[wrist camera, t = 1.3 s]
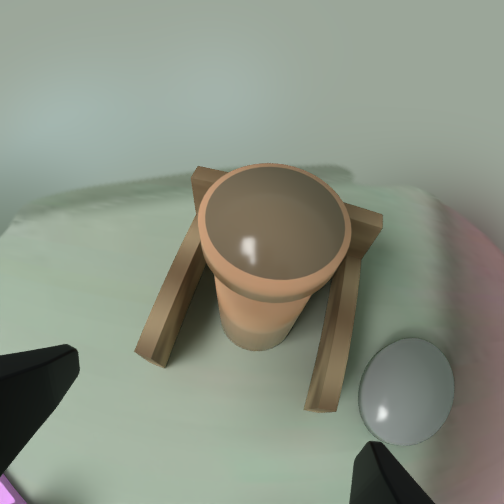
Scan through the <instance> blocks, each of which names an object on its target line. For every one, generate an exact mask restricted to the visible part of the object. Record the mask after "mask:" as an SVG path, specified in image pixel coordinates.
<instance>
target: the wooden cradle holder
mask: <svg viewBox="0 0 504 504" xmlns="http://www.w3.org/2000/svg"><path fill="white" fill-rule="evenodd" d="M227 173H229V172H224V171H219V170H215V169H210V168H205V167H200V166H198V167H197V168H196V170H195V172H194V173H193V175H192V176H191V182H192V189H193V196H194V203H195V210H196V216H195V218H194V220H193V222H192V224H191V226H190V228H189V230H188V232H187V234H186V236H185V238H184V240H183V242H182V244H181V246H180V248H179V251H178V253H177V255H176V257H175V259H174V261H173V263H172V265H171V268H170V270H169V272H168V274H167V276H166V278H165V281H164V283H163V285H162V287H161V290H160V292H159V294H158V296H157V299H156V301H155V303H154V305H153V308H152V310H151V312H150V315H149V317H148V319H147V322H146V324H145V326H144V329H143V331H142V334H141V336H140V339H139V341H138V343H137V346H136V348H135V351H134V352H136V353H137V354H138V355H140V356H141V357H143V358H144V359H146V360H147V361H149V362H150V363H152V364H155V365H157V366H160V367H162V368H165V367H166V364H167V362H168V359H169V356H170V354H171V351H172V348H173V346H174V343H175V340H176V338H177V335H178V333H179V330H180V328H181V325H182V322H183V320H184V317H185V315H186V312H187V310H188V307H189V305H190V302H191V300H192V297H193V295H194V292H195V290H196V287H197V285H198V282H199V280H200V277H201V275H202V273H203V270H204V268H205V265H206V260H205V258H204V255H203V251H202V246H201V241H200V235H199V228H198V212H199V208H200V204H201V201H202V199H203V197H204V195H205V194H206V192H207V191H208V189H209V188H210V187H211V186H212V185H213V184H214V183H215V182H216V181H217V180H218V179H220V178H221V177H222V176H224V175H226V174H227ZM343 203H344V202H343ZM344 205H345V207H346V209H347V212H348V214H349V217H350V222H351V241H350V245H349V248H348V250H347V253H346V255H345V256H344V258H343V260H342V261H341V263H340V265H339V266H338V268H337V270H336V271H335V273H334V274H333V276H332V277H331V279H332V281H331V287H330V293H329V298H328V304H327V309H326V314H325V320H324V325H323V329H322V334H321V339H320V344H319V348H318V353H317V357H316V362H315V366H314V370H313V375H312V379H311V383H310V387H309V391H308V395H307V399H306V402H305V406H304V410H307V411H312V412H317V413H325V412H336V411H337V406H338V402H339V398H340V393H341V389H342V384H343V380H344V375H345V370H346V365H347V359H348V354H349V348H350V343H351V337H352V330H353V324H354V317H355V310H356V303H357V295H358V287H359V279H360V269H361V259H362V258H363V256H364V255H365V253H366V252H367V251H368V249H369V248H370V246H371V245H372V243H373V242H374V240H375V239H376V237H377V236H378V234H379V233H380V231H381V230H382V228H383V215H382V214H379V213H376V212H373V211H370V210H367V209H363V208H360V207H357V206H354V205H350V204H347V203H344Z"/></svg>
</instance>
